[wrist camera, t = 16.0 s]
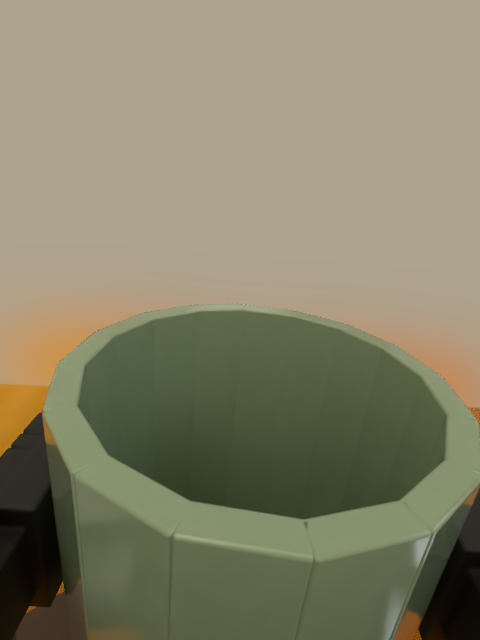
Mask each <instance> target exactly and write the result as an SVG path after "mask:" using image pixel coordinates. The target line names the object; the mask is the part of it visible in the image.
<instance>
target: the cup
mask: <svg viewBox="0 0 480 640" xmlns="http://www.w3.org/2000/svg"><path fill="white" fill-rule="evenodd" d="M42 418H43V426H44V433H45V441H46V449H47V457H48V465H49V473H50V480H51V488H52V496H53V504H54V512H55V519H56V527H57V535H58V543H59V551H60V559H61V566H62V574H63V582H64V590H65V598H66V605H67V613H68V621H69V629H70V637H71V640H413V639H414V637H415V634H416V632H417V630H418V627H419V625H420V623H421V621H422V618H423V616H424V614H425V611H426V609H427V607H428V605H429V602H430V600H431V598H432V595H433V593H434V591H435V589H436V586H437V584H438V582H439V579H440V577H441V575H442V573H443V570H444V568H445V566H446V563H447V561H448V559H449V557H450V554H451V552H452V550H453V547H454V545H455V543H456V541H457V538H458V536H459V534H460V531H461V529H462V527H463V525H464V522H465V520H466V518H467V515H468V513H469V511H470V509H471V506H472V504H473V502H474V499H475V497H476V495H477V493H478V490H479V488H480V435H479V426H478V422H477V420H476V418H475V417H474V415H473V414H472V413H471V412H470V410H469V409H468V408H467V407H466V405H465V404H464V403H463V401H462V400H461V399H460V398H459V396H458V395H457V394H456V393H455V391H454V390H453V389H452V388H451V386H450V385H449V384H448V383H447V381H446V380H445V379H444V378H443V377H442V376H441V375H439V374H438V373H437V372H435V371H434V370H432V369H431V368H429V367H428V366H426V365H425V364H423V363H422V362H420V361H419V360H417V359H416V358H414V357H413V356H411V355H410V354H409V353H407V352H406V351H404V350H403V349H401V348H400V347H398V346H395V345H394V344H392V343H390V342H387V341H385V340H383V339H380V338H378V337H376V336H373V335H371V334H369V333H366V332H364V331H362V330H359V329H357V328H354V327H352V326H350V325H347V324H344V323H341V322H337V321H333V320H330V319H326V318H322V317H318V316H314V315H310V314H307V313H302V312H299V311H293V310H287V309H279V308H271V307H263V306H255V305H247V304H245V305H243V304H206V305H188V306H182V307H176V308H170V309H164V310H158V311H152V312H145V313H144V314H143V313H142V314H139V315H136V316H134V317H131V318H128V319H126V320H123V321H121V322H118V323H115V324H113V325H110V326H108V327H105V328H102V329H100V330H98V331H97V332H94V333H93V334H92V335H90V336H89V337H88V338H87V339H86V340H84V341H83V342H82V343H81V344H80V345H78V346H77V347H76V348H75V349H74V350H72V351H71V352H70V353H69V354H67V355H66V356H65V357H64V358H63V359H62V360H60V361H59V363H58V364H57V366H56V369H55V372H54V375H53V379H52V382H51V385H50V388H49V391H48V394H47V397H46V400H45V403H44V406H43V409H42Z"/></svg>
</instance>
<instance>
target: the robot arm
mask: <svg viewBox="0 0 480 640" xmlns="http://www.w3.org/2000/svg"><path fill="white" fill-rule="evenodd" d="M62 581H63V574H62V566H61V559H60V551H59V543H58V535H57V527H56V519H55V512H54V504H53V496H52V488H51V480H50V473H49V465H48V457H47V449H46V441H45V433H44V426H43V418H42V412H41V413H39V414H38V415H37V416H36V417H35V418H34V419H33V420H32V422H31V423H30V424H29V425H28V426H27V427H26V428H25V430H24V432H23V434H20V435H19V437H18V438H17V439H16V440H15V441H14V442H13V443H12V445H11V448H8V449H7V450H6V451H5V453H4V454H3V455H2V456H1V457H0V640H17V634H16V631H17V629H18V627H19V625H20V623H21V621H22V619H23V617H24V615H25V613H26V611H27V609H28V607H29V606H36V607H48V608H50V607H51V605H52V603H53V601H54V599H55V596H56V594H57V592H58V590H59V588H60V585H61V583H62ZM418 629H419V632H420V635H421V637H422V640H480V488H479V490H478V493H477V495H476V497H475V499H474V502H473V504H472V506H471V509H470V511H469V513H468V515H467V518H466V520H465V522H464V525H463V527H462V529H461V531H460V534H459V536H458V538H457V541H456V543H455V545H454V547H453V550H452V552H451V554H450V557H449V559H448V561H447V563H446V566H445V568H444V570H443V573H442V575H441V577H440V579H439V582H438V584H437V586H436V589H435V591H434V593H433V595H432V598H431V600H430V602H429V605H428V607H427V609H426V611H425V614H424V616H423V618H422V621H421V623H420V625H419V627H418Z"/></svg>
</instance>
